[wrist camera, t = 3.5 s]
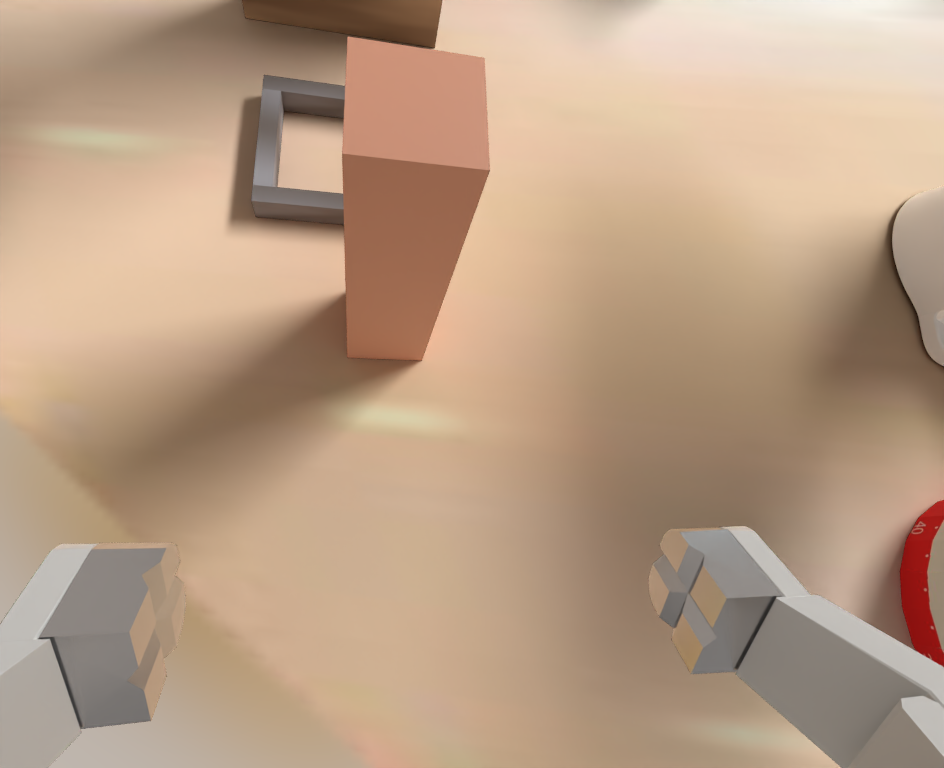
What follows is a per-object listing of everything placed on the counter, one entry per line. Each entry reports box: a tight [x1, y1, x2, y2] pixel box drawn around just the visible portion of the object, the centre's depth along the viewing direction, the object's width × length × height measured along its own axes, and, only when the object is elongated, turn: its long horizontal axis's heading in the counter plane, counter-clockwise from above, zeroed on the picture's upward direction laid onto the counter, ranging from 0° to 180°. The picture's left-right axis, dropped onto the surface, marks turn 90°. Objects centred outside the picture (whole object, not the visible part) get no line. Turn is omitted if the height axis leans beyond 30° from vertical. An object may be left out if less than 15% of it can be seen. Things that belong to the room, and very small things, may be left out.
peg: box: [342, 37, 490, 361], centre depth 23 cm, size 4×4×16 cm
